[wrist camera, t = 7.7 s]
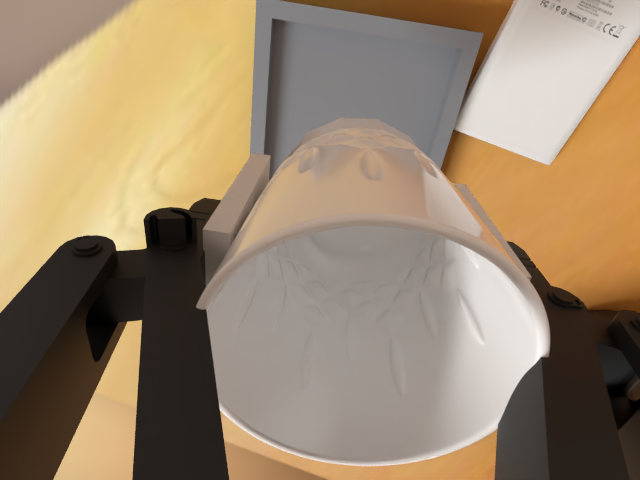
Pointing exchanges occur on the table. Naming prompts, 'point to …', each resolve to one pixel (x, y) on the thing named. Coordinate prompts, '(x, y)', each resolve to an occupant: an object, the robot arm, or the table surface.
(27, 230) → the table surface
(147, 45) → the table surface
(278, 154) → the tray
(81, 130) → the table surface
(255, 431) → the white cup
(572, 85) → the external hard drive
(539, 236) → the table surface
